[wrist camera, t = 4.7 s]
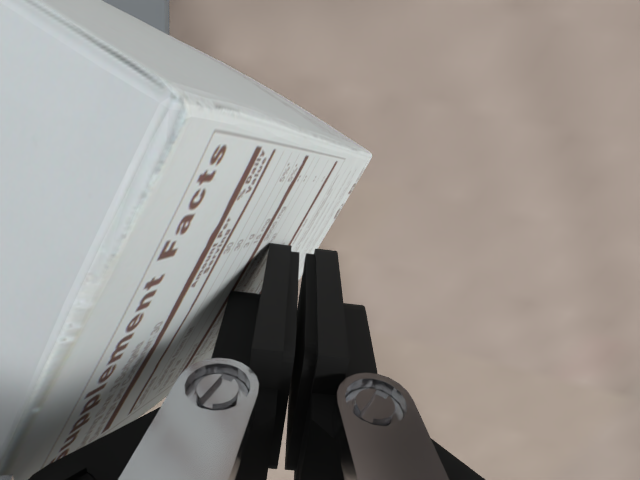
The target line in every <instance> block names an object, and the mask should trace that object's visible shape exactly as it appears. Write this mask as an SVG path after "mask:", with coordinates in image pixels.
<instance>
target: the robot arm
mask: <svg viewBox="0 0 640 480" xmlns="http://www.w3.org/2000/svg"><path fill="white" fill-rule="evenodd" d="M291 247H292V246H290V245H282V244H274V243H270V245H269V251H268V256H267V262H266V268H265V273H264V279H263V285H262V291H261V294H257V293H248V292H239V291H231V292H230V295H229V298H228V301H227V305H226V308H225V312H224V315H223V319H222V322H221V326H220V329H219V333H218V336H217V340H216V343H215V347H214V350H213V354H212V357H211V359H205V360H202V361H199V362H196V363H194V364H193V365H191V366H189V367H188V368H186V369H185V370H184V371H183V372H182V374H181V375H180V376H179V377H178V379H177V380H176V382H175V384H174V386H173V387H172V389H171V391H170V392H169V394H168V396H167V397H166V399H165V401H164V403H163V404H162V406H161V407H159V408H158V409H156V410H154V411H152V412H150V413H148V414H146V415H144V416H142V417H140V418H138V419H136V420H134V421H132V422H130V423H128V424H126V425H124V426H122V427H121V428H119V429H117V430H115V431H113V432H111V433H109V434H107V435H105V436H103V437H101V438H99V439H97V440H95V441H93V442H91V443H89V444H87V445H86V446H84V447H82V448H80V449H78V450H76V451H74V452H72V453H70V454H68V455H66V456H64V457H62V458H60V459H58V460H56V461H54V462H52V463H50V464H49V465H47V466H45V467H44V468H42V469H41V470H39V471H38V472H36V473H35V474H33V475H32V476H31V477H30V478H29V479H28V480H266V479H267V472H268V468H271V469H277V466H278V460H279V454H280V447H281V441H282V434H283V428H284V422H285V415H286V409H287V403H288V420H287V439H286V457H285V470H294V480H485V479H484V478H482V477H481V476H480V475H478V474H477V473H476V472H474V471H473V470H472V469H470V468H469V467H468V466H467V465H465V464H464V463H463V462H461V461H460V460H459V459H457V458H456V457H455V456H453V455H452V454H451V453H449V452H448V451H447V450H445V449H444V448H443V447H441V446H440V445H439V444H438V443H436V442H435V441H434V440H432V439H431V438H430V436H429V434H428V432H427V429H426V427H425V425H424V423H423V421H422V418H421V416H420V414H419V412H418V410H417V407H416V405H415V403H414V401H413V399H412V397H411V396H410V394H409V393H408V391H407V390H406V389H404V388H403V387H402V386H401V385H400V384H399V383H397V382H396V381H394V380H392V379H390V378H389V377H385V376H382V375H379V374H377V368H376V363H375V358H374V353H373V347H372V342H371V337H370V331H369V326H368V321H367V315H366V310H365V307H364V306H363V305H354V304H345V303H343V297H342V288H341V279H340V271H339V262H338V253H337V251H331V250H323V249H315V251H314V254H309V253H306V256H305V262H304V269H303V275H302V282H301V288H300V295H299V302H298V308H297V300H298V277H299V254H300V252H292V251H291ZM288 396H289V402H288ZM0 480H14V478H13V474H12V475H4V476H0Z"/></svg>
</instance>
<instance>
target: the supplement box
mask: <svg viewBox="0 0 640 480" xmlns="http://www.w3.org/2000/svg"><path fill="white" fill-rule="evenodd" d="M371 158H372V154H371V152H369V151H368V150H367V149H365V148H364V147H362V146H360V145H359V144H357V143H356V142H354V141H353V140H351V139H350V138H348V137H347V136H345V135H343V134H342V133H340V132H339V131H337V130H336V129H334V128H333V127H331V126H330V125H328V124H327V123H325V122H323V121H322V120H320V119H319V118H317V117H316V116H314V115H312V114H311V113H309V112H308V111H306V110H304V109H303V108H301V107H300V106H298V105H296V104H295V103H293V102H292V101H290V100H288V99H287V98H285V97H283V96H281V95H280V94H278V93H276V92H275V91H273V90H271V89H269V88H268V87H266V86H264V85H262V84H261V83H259V82H257V81H256V80H254V79H252V78H250V77H248V76H247V75H245V74H243V73H241V72H239V71H237V70H236V69H234V68H232V67H230V66H228V65H227V64H225V63H223V62H222V61H219V60H217V59H215V58H213V57H211V56H209V55H207V54H205V53H203V52H201V51H199V50H197V49H195V48H193V47H191V46H189V45H187V44H185V43H183V42H181V41H179V40H177V39H175V38H173V37H171V36H170V35H168V34H166V33H164V32H162V31H160V30H158V29H156V28H154V27H152V26H150V25H148V24H147V23H145V22H143V21H141V20H139V19H137V18H135V17H133V16H131V15H129V14H127V13H125V12H123V11H121V10H119V9H117V8H115V7H114V6H112V5H110V4H108V3H106V2H104V1H102V0H0V476H4V475H12V474H13V478H14V480H28V479H29V478H30V477H31V476H32V475H33V474H35V473H36V472H38V471H39V470H41V469H42V468H44V467H45V466H47V465H49V464H50V463H52V462H54V461H56V460H58V459H60V458H62V457H64V456H66V455H68V454H70V453H72V452H74V451H76V450H78V449H80V448H82V447H84V446H86V445H87V444H89V443H91V442H93V441H95V440H97V439H99V438H101V437H103V436H105V435H107V434H109V433H111V432H113V431H115V430H117V429H119V428H121V427H122V426H124V425H126V424H128V423H130V422H132V421H134V420H136V419H137V418H139V417H140V416H141V415H143V414H144V413H145V412H147V411H148V410H149V409H151V408H152V407H153V406H155V405H156V404H157V403H159V402H160V401H161V400H162V399H164V398H165V397H166V396H168V394H169V392H170V391H171V389H172V387H173V386H174V384H175V382H176V380H177V379H178V377H179V376H180V375H181V374H182V372H183V371H184V370H185V369H186V368H188V367H189V366H191V365H193V364H194V363H196V362H199V361H202V360H205V359H211V357H212V354H213V350H214V347H215V343H216V340H217V336H218V333H219V329H220V326H221V322H222V319H223V315H224V312H225V308H226V305H227V301H228V298H229V295H230V292H231V291H239V292H248V293H257V294H261V291H262V285H263V279H264V273H265V268H266V262H267V256H268V251H269V245H270V243H274V244H282V245H290V246H292V247H291V251H292V252H300V254H299V277H298V281H299V279H300V277H301V276H302V274H303V269H304V262H305V256H306V253H309V254H314V251H315V249H318V247H319V245H320V244H321V242H322V240H323V239H324V237H325V235H326V234H327V232H328V230H329V229H330V227H331V225H332V224H333V222H334V220H335V219H336V217H337V215H338V214H339V212H340V210H341V209H342V207H343V205H344V204H345V202H346V200H347V199H348V197H349V195H350V194H351V192H352V190H353V189H354V187H355V185H356V184H357V182H358V180H359V178H360V177H361V175H362V173H363V172H364V170H365V168H366V167H367V165H368V163H369V161H370V160H371Z"/></svg>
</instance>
